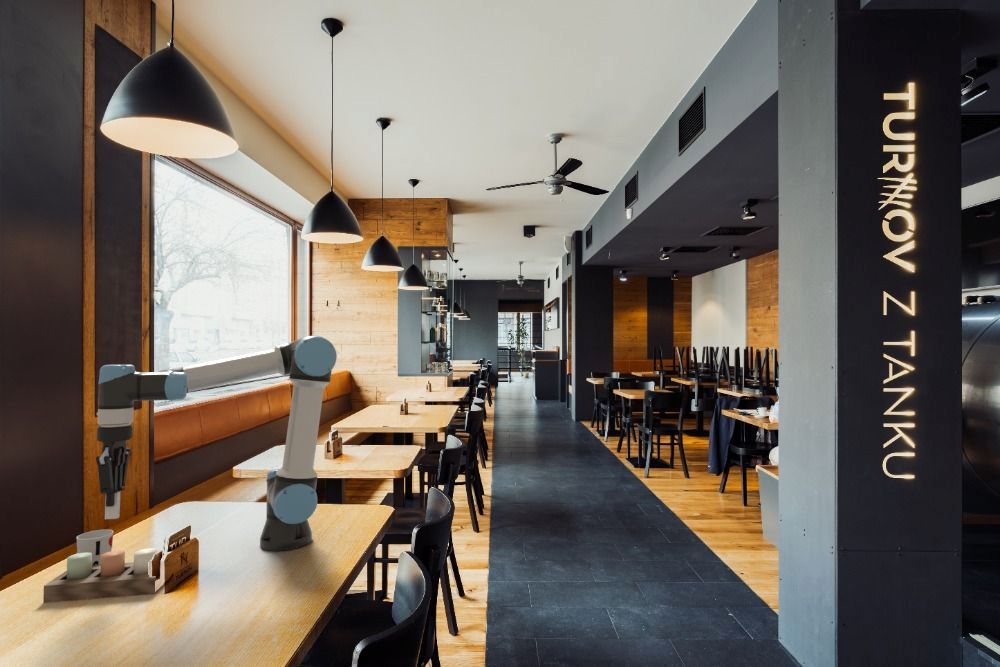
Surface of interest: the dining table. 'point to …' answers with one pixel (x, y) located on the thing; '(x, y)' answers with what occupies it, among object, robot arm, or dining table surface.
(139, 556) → the button cream
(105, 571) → the pink rounded cube
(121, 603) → the dining table surface
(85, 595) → the wooden slotted tray
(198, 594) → the dining table surface
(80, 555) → the pale green rounded cube
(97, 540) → the cup
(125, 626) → the dining table surface
